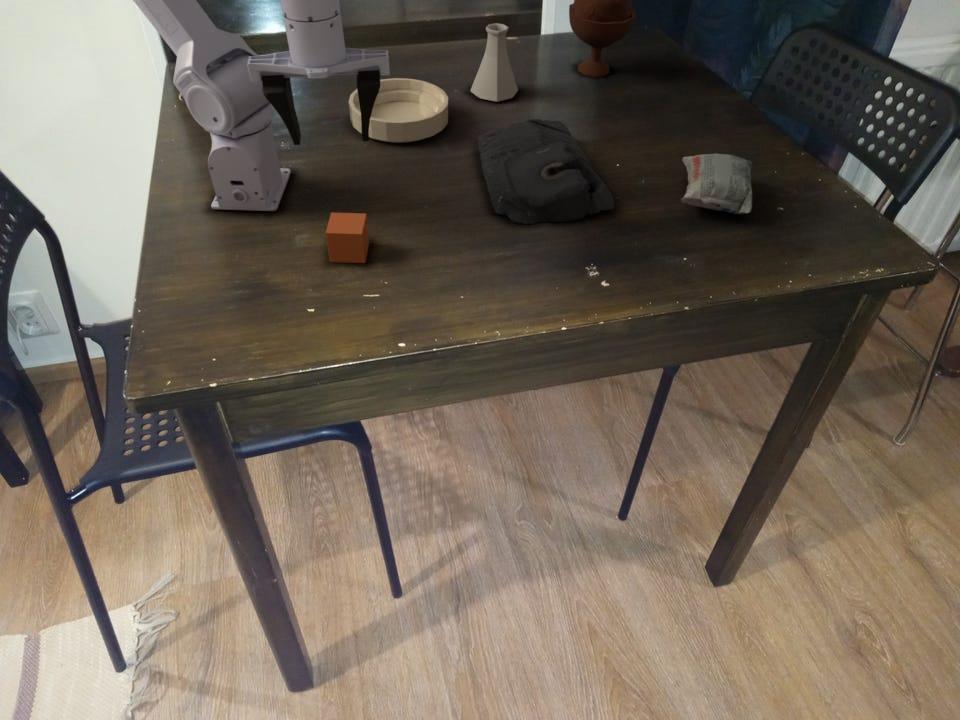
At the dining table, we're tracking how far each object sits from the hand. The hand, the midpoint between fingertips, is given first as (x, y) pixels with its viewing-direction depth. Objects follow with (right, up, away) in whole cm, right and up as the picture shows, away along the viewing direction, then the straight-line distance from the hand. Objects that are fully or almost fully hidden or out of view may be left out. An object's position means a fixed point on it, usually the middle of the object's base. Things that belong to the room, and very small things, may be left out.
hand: (331, 138), depth 79 cm
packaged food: (+47, -4, +12) cm, 49 cm away
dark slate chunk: (+25, -1, +14) cm, 29 cm away
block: (+2, -13, +1) cm, 13 cm away
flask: (+19, +17, +32) cm, 41 cm away
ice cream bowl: (+36, +24, +39) cm, 58 cm away
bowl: (+5, +10, +24) cm, 26 cm away
